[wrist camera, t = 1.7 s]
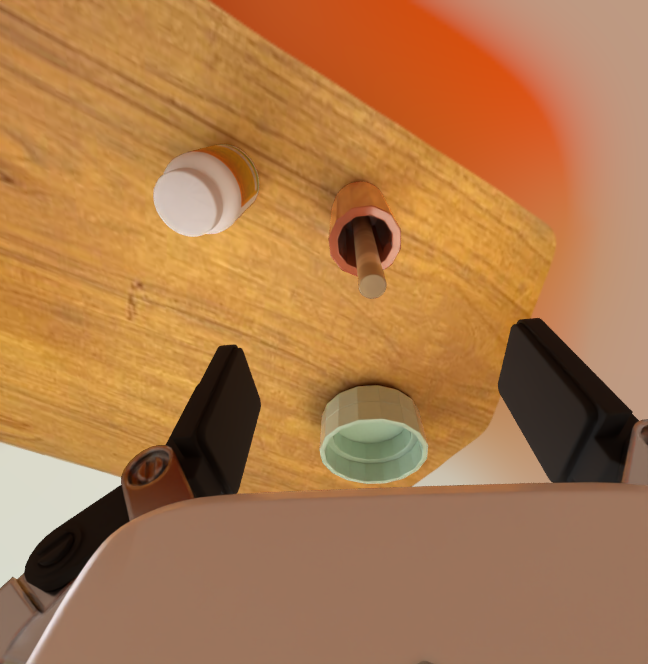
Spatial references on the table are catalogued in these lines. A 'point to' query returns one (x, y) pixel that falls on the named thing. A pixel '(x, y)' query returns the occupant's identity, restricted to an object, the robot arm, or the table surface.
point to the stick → (367, 259)
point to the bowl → (372, 435)
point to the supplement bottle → (206, 190)
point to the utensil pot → (385, 228)
